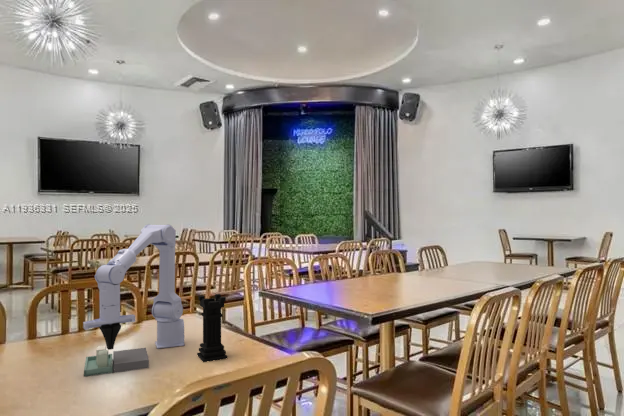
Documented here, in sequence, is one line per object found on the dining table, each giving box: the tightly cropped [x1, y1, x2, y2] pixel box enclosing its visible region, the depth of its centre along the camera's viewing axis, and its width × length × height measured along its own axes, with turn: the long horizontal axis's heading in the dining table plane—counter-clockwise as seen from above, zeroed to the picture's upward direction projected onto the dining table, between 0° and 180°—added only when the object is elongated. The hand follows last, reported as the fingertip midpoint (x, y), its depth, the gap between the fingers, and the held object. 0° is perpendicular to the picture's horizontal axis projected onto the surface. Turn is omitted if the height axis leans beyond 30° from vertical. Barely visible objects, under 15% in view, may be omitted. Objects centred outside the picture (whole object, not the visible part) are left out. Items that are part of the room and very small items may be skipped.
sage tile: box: [98, 349, 109, 368], centre depth 140 cm, size 4×4×2 cm
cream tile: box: [95, 344, 107, 365], centre depth 145 cm, size 4×4×2 cm
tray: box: [83, 353, 114, 377], centre depth 142 cm, size 8×14×2 cm, turn 24°
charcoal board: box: [112, 347, 150, 374], centre depth 145 cm, size 10×14×2 cm
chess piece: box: [196, 293, 228, 363], centre depth 152 cm, size 8×8×20 cm
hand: (110, 348), depth 140 cm, fingers closed
